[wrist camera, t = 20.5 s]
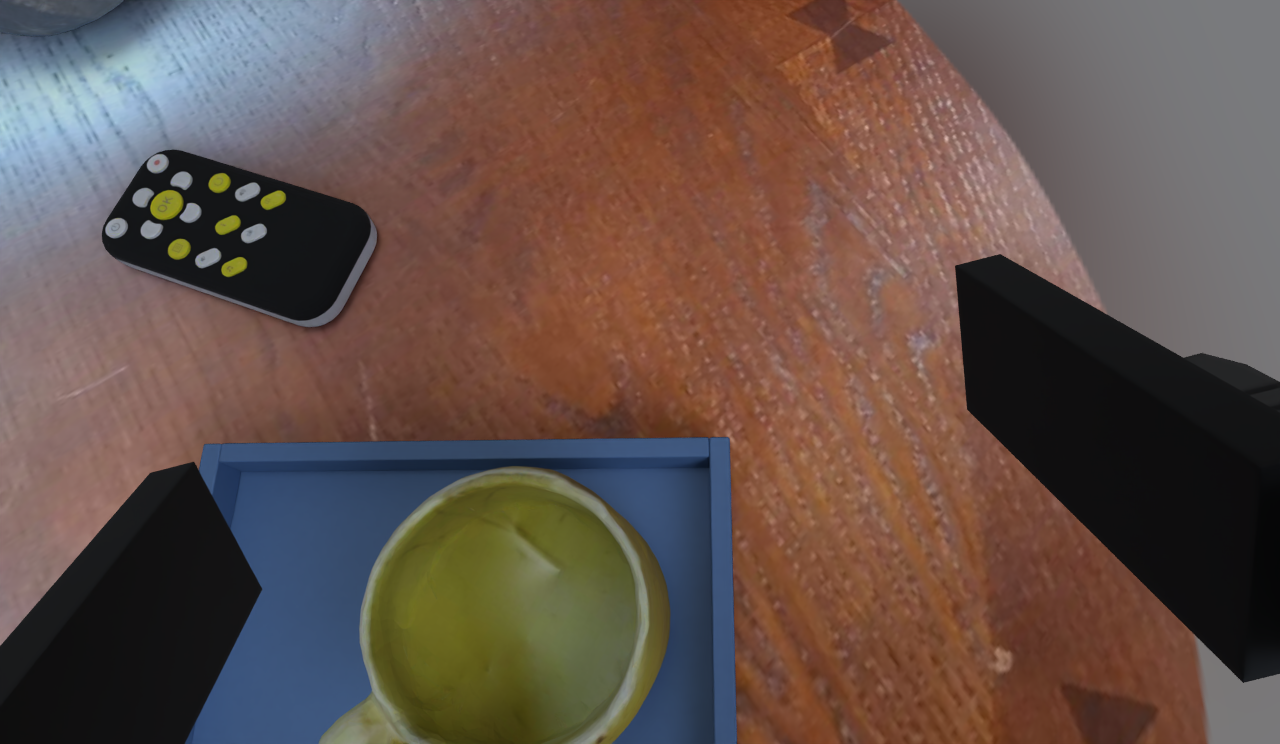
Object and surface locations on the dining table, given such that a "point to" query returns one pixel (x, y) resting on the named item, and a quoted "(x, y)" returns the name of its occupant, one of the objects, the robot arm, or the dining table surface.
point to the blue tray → (382, 499)
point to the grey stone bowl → (50, 15)
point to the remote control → (241, 237)
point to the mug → (509, 618)
